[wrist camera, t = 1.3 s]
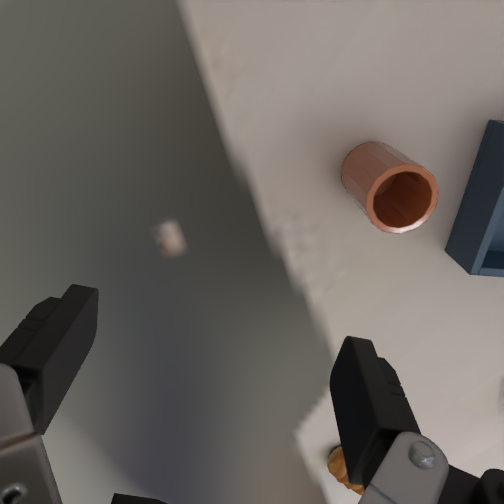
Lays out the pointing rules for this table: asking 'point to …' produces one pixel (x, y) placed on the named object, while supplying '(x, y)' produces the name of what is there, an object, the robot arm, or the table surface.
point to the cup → (389, 187)
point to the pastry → (342, 470)
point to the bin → (482, 211)
